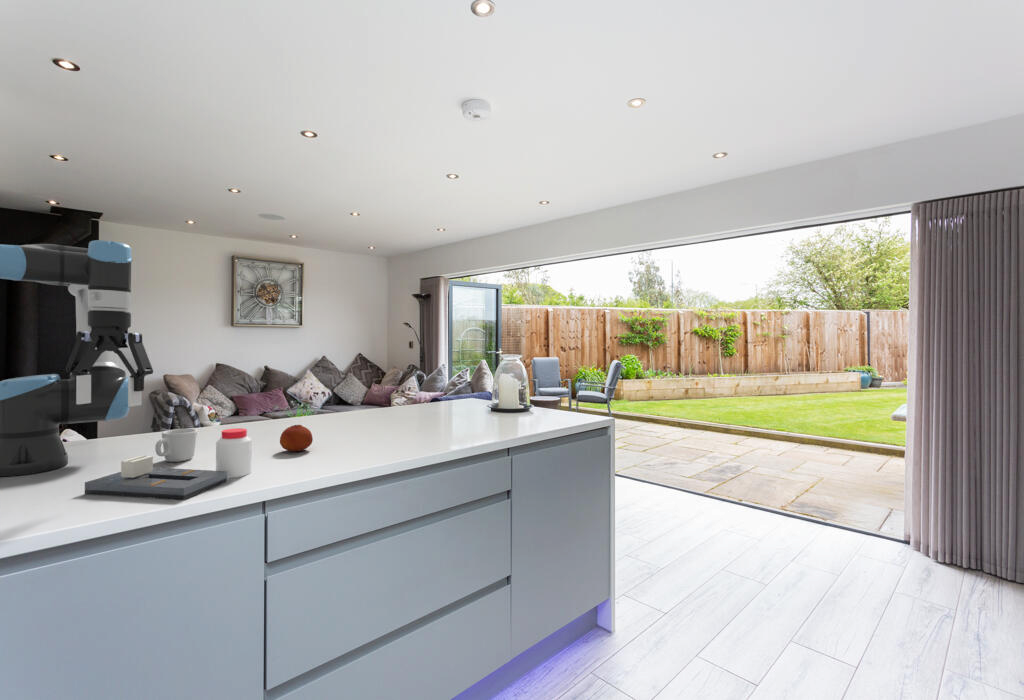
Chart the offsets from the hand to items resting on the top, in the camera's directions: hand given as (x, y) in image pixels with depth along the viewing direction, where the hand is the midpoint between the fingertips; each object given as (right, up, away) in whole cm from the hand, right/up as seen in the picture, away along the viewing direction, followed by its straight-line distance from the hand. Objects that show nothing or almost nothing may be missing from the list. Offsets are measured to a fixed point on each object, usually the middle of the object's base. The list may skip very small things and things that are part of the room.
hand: (109, 404), depth 108 cm
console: (+12, -19, -1) cm, 22 cm away
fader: (+7, -17, -1) cm, 19 cm away
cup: (0, -18, +21) cm, 28 cm away
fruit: (+26, -18, +36) cm, 48 cm away
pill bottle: (+22, -19, +11) cm, 31 cm away
